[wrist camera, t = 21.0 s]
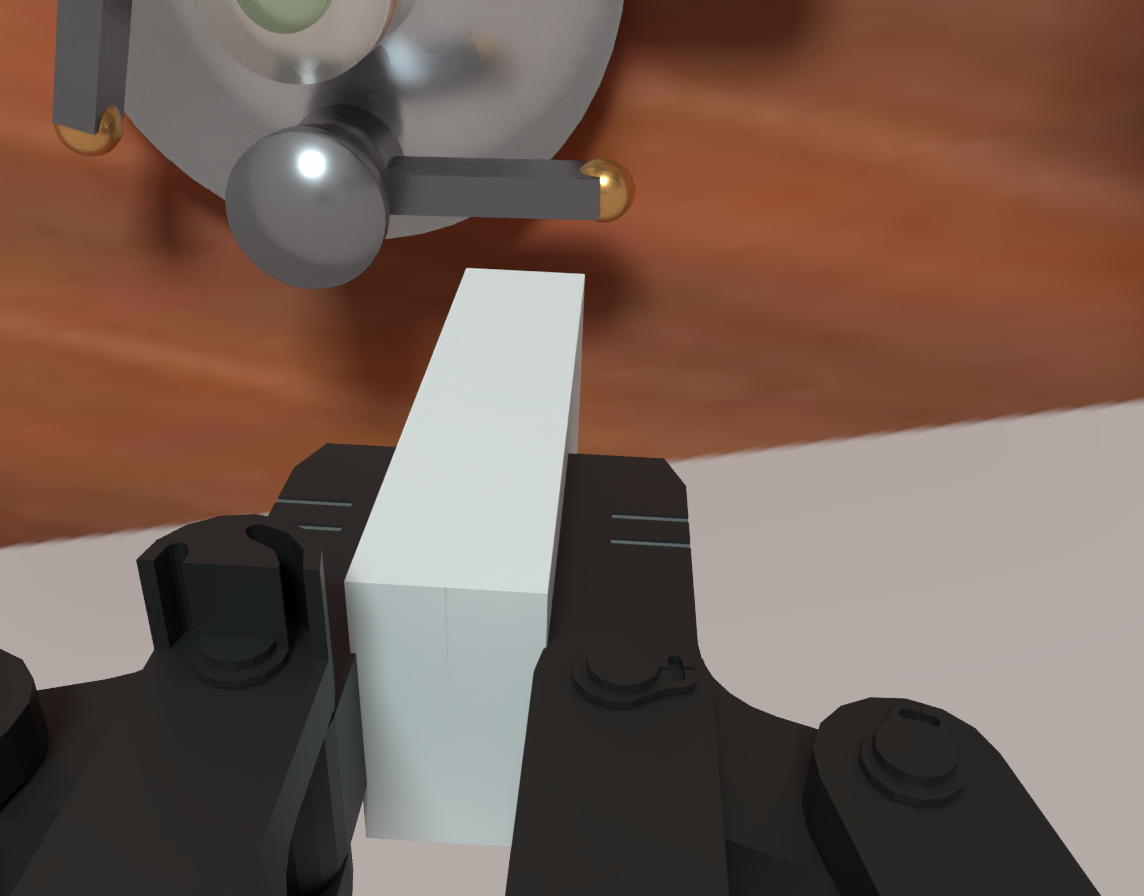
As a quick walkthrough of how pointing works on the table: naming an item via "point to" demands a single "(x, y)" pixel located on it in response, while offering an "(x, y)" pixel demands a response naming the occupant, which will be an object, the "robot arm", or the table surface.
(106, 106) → the knob
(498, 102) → the tribrach plate
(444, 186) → the knob
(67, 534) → the table surface
